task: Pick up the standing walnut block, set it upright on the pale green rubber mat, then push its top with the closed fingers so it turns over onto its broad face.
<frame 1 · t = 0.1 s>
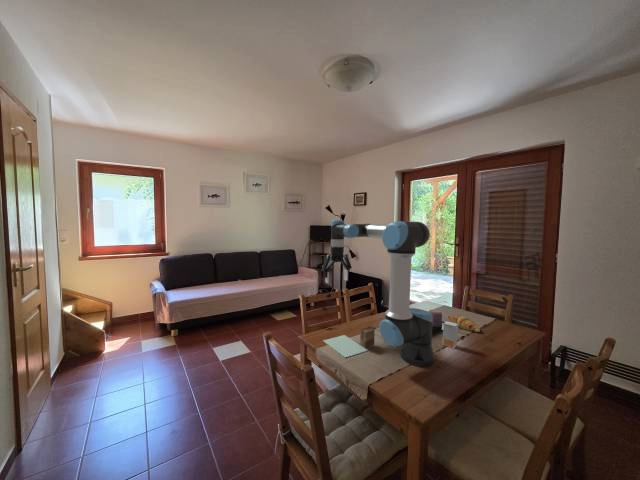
hand: (336, 281, 161), 28 cm above the table, fingers open, 13 cm apart
croissant: (462, 327, 166), on the table
mat: (344, 345, 139), on the table
skincare box: (449, 346, 141), on the table
walnut block: (367, 346, 139), on the table
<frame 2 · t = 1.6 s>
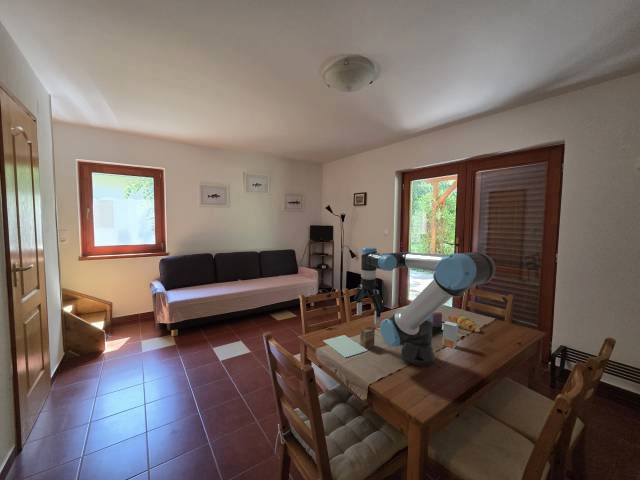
hand: (367, 318, 138), 15 cm above the table, fingers open, 13 cm apart
nothing on the table moved.
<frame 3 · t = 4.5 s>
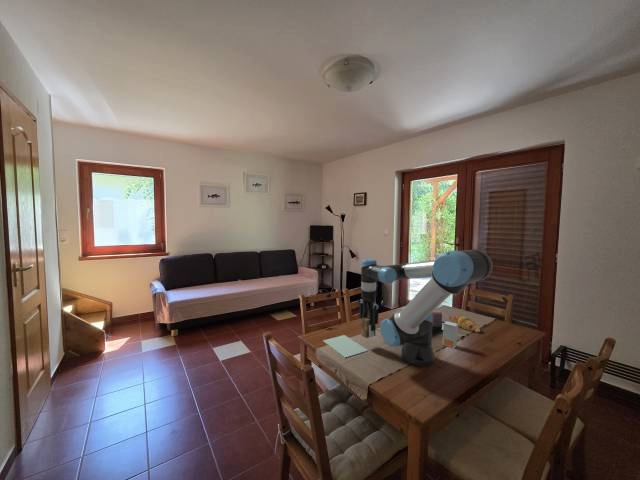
hand: (368, 334, 138), 6 cm above the table, fingers closed on walnut block, 4 cm apart
walnut block: (368, 335, 138), point 6 cm above the table, touching gripper
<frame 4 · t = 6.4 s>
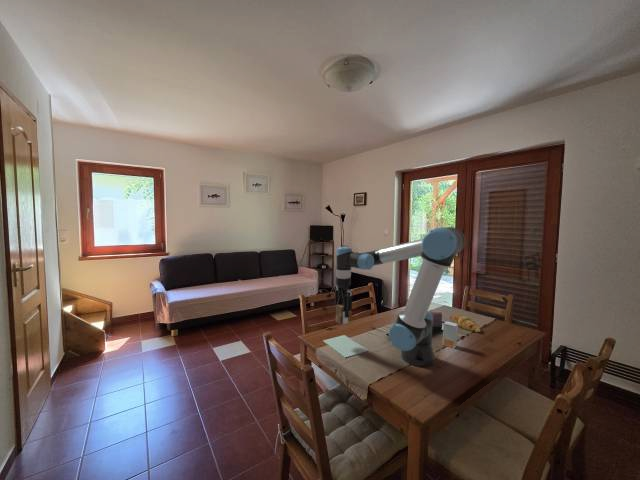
hand: (342, 321, 140), 12 cm above the table, fingers closed on walnut block, 4 cm apart
walnut block: (342, 322, 140), point 12 cm above the table, touching gripper
everything else where it was.
when the fingers open (1 cm above the table, at t = 8.6 s): walnut block stays where it is, resting on mat.
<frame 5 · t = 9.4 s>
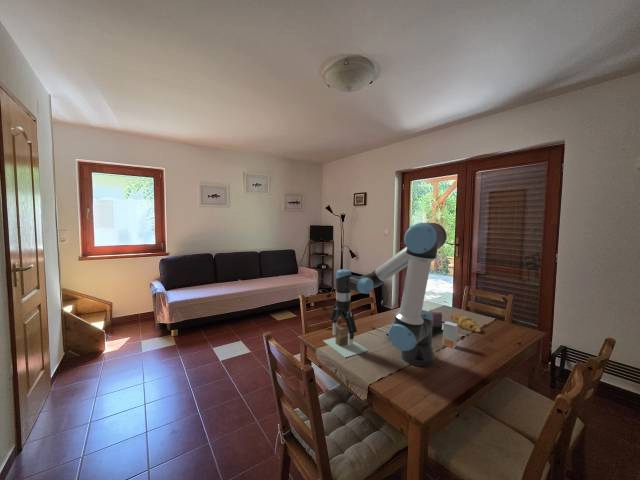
hand: (342, 339, 141), 3 cm above the table, fingers open, 13 cm apart
walnut block: (342, 343, 141), resting on mat
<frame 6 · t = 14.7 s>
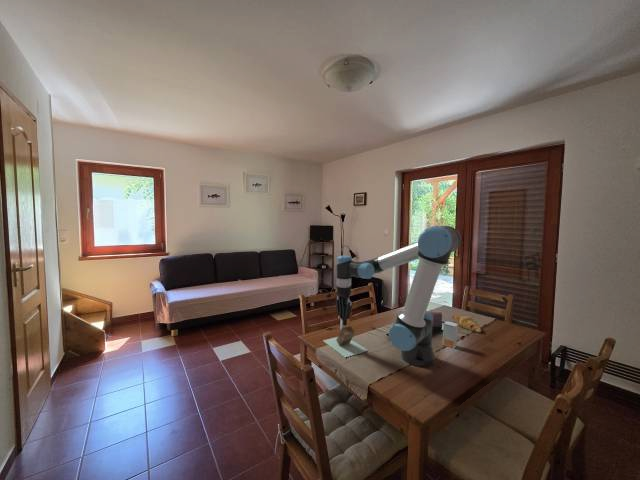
hand: (343, 330, 140), 8 cm above the table, fingers closed
walnut block: (342, 341, 141), point 1 cm above the table, tilted 29°, touching mat
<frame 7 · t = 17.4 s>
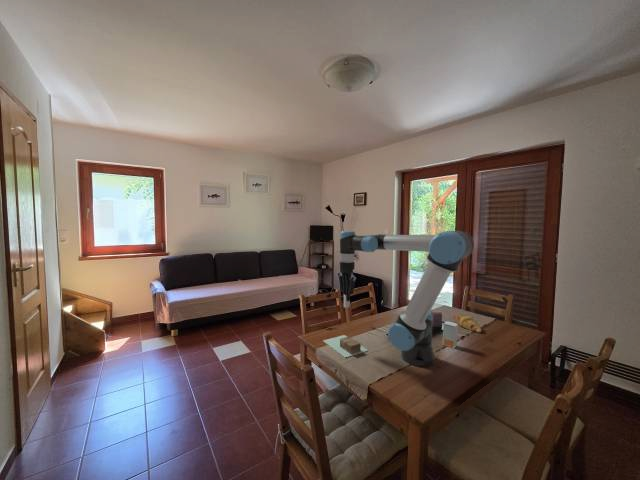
hand: (346, 306, 138), 20 cm above the table, fingers closed
walnut block: (344, 341, 139), point 2 cm above the table, tilted 90°, touching mat
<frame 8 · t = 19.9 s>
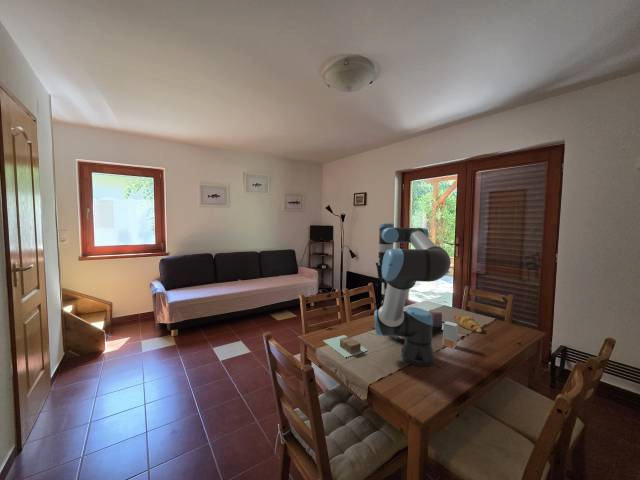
hand: (384, 294, 148), 24 cm above the table, fingers closed
at the end: walnut block tilted 90°; walnut block inside the target area (0.7 cm from its centre), point 2.4 cm above the table; the gripper is holding nothing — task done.
